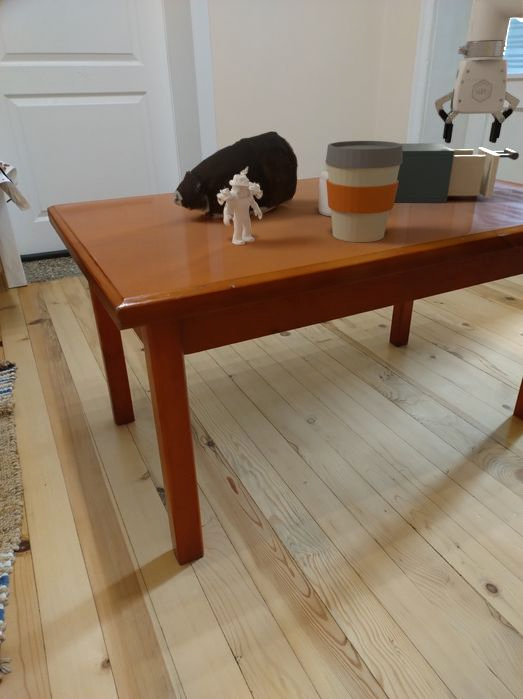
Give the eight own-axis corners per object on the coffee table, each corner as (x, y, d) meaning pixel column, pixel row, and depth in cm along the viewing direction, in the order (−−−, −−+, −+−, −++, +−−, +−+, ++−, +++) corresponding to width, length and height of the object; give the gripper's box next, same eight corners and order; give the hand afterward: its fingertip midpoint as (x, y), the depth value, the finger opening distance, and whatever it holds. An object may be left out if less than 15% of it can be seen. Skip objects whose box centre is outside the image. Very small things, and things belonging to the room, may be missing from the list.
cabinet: (434, 190, 124) (441, 143, 119) (446, 202, 112) (454, 150, 107) (368, 190, 125) (372, 143, 120) (373, 202, 113) (378, 151, 108)
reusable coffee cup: (308, 232, 92) (311, 144, 85) (363, 222, 98) (369, 139, 91) (352, 249, 83) (358, 151, 76) (409, 238, 88) (421, 145, 81)
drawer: (498, 187, 121) (506, 147, 117) (515, 198, 110) (525, 154, 106) (414, 187, 123) (419, 147, 119) (423, 197, 112) (429, 154, 108)
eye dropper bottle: (318, 217, 102) (320, 153, 97) (318, 210, 107) (320, 150, 102) (339, 217, 102) (343, 153, 96) (339, 210, 107) (342, 150, 101)
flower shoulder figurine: (253, 234, 92) (251, 164, 86) (269, 238, 89) (268, 166, 84) (215, 245, 86) (211, 171, 81) (230, 249, 84) (227, 173, 78)
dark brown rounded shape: (150, 156, 99) (256, 122, 108) (167, 227, 109) (263, 191, 118) (184, 176, 89) (298, 137, 98) (200, 252, 99) (302, 211, 108)
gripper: (444, 52, 101) (432, 144, 109) (535, 50, 100) (516, 144, 108) (437, 54, 108) (426, 141, 116) (522, 52, 106) (505, 140, 114)
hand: (469, 142), depth 112 cm, fingers open, 9 cm apart
